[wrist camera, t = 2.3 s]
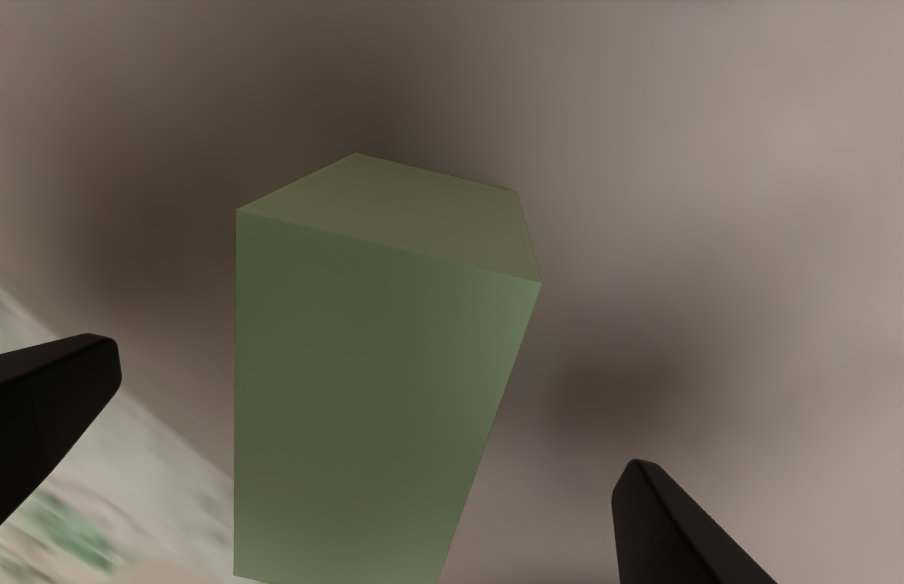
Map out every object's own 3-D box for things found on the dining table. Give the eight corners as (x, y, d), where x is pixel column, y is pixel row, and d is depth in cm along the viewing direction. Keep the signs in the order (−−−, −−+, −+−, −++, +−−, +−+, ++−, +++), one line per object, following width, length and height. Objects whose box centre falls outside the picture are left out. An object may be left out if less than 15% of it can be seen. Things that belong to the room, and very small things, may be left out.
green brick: (447, 426, 13) (425, 616, 8) (326, 398, 12) (233, 575, 8) (516, 190, 10) (542, 283, 5) (356, 151, 9) (235, 209, 5)
